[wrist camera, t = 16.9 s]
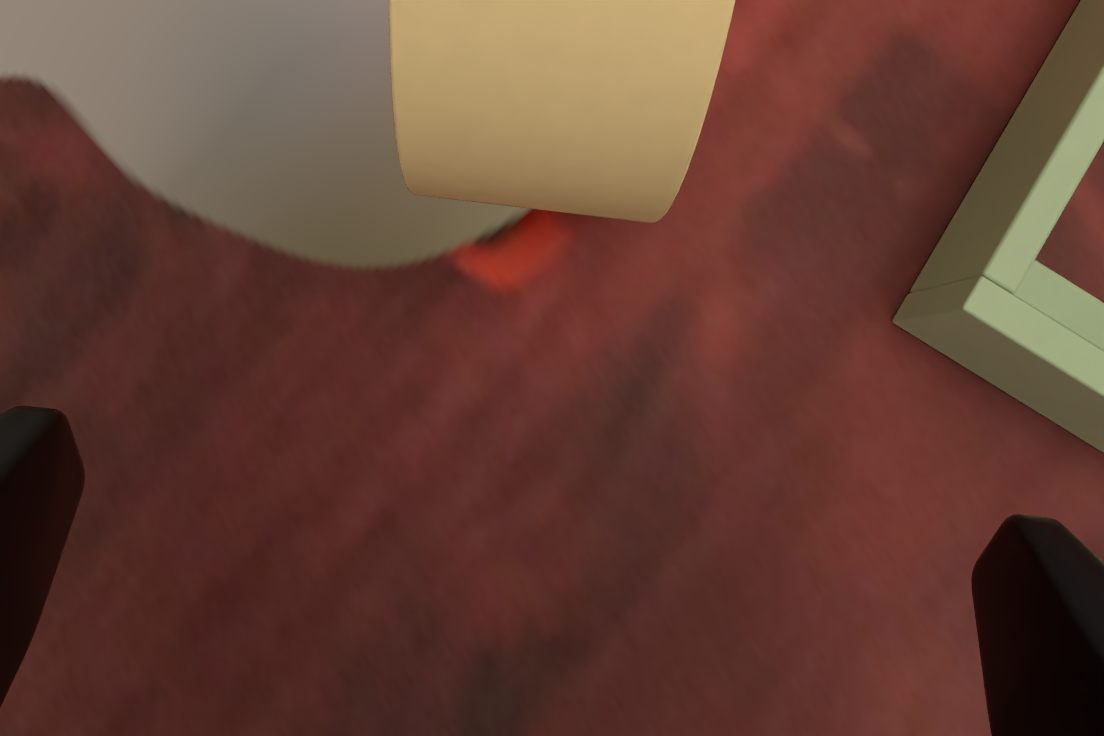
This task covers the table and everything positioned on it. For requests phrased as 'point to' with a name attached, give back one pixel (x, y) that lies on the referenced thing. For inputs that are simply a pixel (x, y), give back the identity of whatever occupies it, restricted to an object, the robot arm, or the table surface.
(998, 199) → the green divided tray
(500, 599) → the table surface
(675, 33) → the masking tape roll
